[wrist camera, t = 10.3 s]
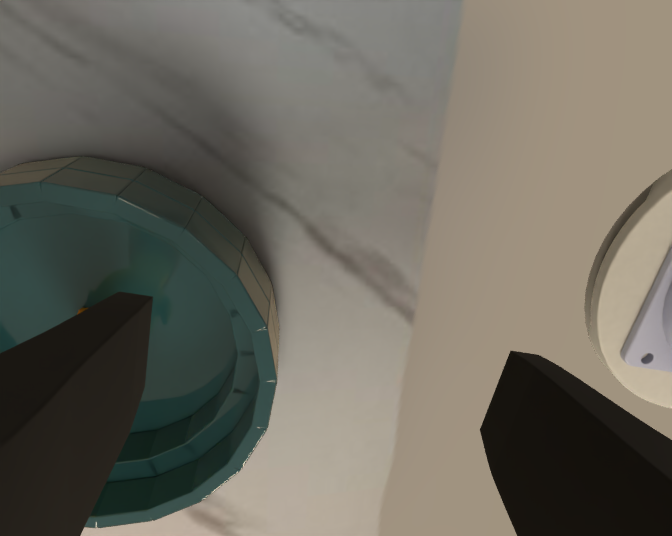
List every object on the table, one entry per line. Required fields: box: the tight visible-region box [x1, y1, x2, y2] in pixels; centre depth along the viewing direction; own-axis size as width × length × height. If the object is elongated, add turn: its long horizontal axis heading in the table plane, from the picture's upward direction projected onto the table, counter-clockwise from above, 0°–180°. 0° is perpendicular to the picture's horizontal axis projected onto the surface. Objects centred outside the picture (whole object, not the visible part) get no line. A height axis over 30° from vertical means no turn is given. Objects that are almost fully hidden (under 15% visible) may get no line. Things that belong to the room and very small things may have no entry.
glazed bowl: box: [0, 156, 280, 528], centre depth 20 cm, size 13×13×4 cm
